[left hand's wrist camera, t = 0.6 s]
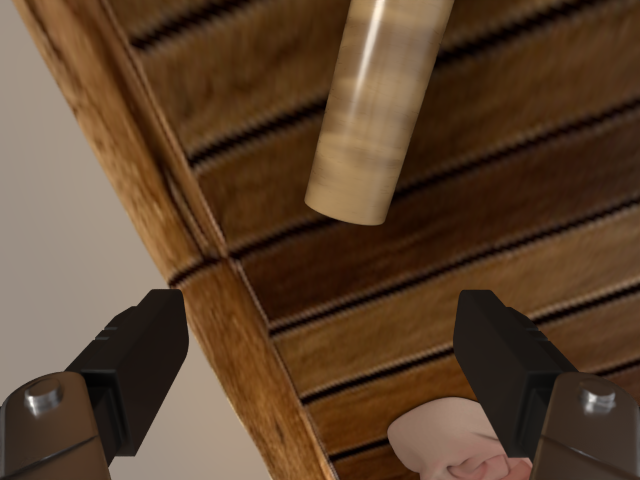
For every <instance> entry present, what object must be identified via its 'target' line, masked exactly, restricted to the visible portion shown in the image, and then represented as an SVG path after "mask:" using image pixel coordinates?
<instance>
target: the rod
mask: <svg viewBox="0 0 640 480" xmlns="http://www.w3.org/2000/svg"><path fill="white" fill-rule="evenodd" d="M454 1H455V0H351V3H350V7H349V11H348V15H347V20H346V24H345V28H344V33H343V37H342V41H341V45H340V50H339V54H338V58H337V62H336V67H335V71H334V75H333V80H332V84H331V88H330V92H329V97H328V101H327V105H326V109H325V114H324V118H323V122H322V127H321V131H320V135H319V139H318V144H317V148H316V152H315V156H314V161H313V165H312V169H311V174H310V178H309V182H308V186H307V191H306V195H305V203H306V204H307V205H308V206H309V207H311V208H312V209H314V210H316V211H317V212H319V213H322V214H324V215H326V216H329V217H332V218H335V219H338V220H342V221H346V222H350V223H355V224H362V225H379V224H382V223H384V221H385V219H386V216H387V213H388V209H389V206H390V203H391V200H392V197H393V194H394V190H395V187H396V184H397V181H398V178H399V175H400V171H401V168H402V165H403V162H404V159H405V156H406V153H407V149H408V146H409V143H410V140H411V137H412V134H413V130H414V127H415V124H416V121H417V118H418V115H419V111H420V108H421V105H422V102H423V99H424V96H425V92H426V89H427V86H428V83H429V80H430V77H431V73H432V70H433V67H434V64H435V61H436V58H437V54H438V51H439V48H440V45H441V42H442V39H443V35H444V32H445V29H446V26H447V23H448V20H449V16H450V13H451V10H452V7H453V4H454Z"/></svg>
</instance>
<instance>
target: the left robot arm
mask: <svg viewBox="0 0 640 480" xmlns="http://www.w3.org/2000/svg"><path fill="white" fill-rule="evenodd" d="M188 346H189V335H188V327H187V320H186V313H185V306H184V299H183V294H182V292H181V290H179V289H152V290H151V291H150V292H149V293H148V294H147V295H146V296H145V297H144V298H143V300H142V301H141V302H140V303H139V304H138V305H137V306H132V307H130V308H128V309H127V310H125V311H123V312H122V313H120V314H118V315H116V316H115V317H114V318H113V319H112V320H111V321H110V322H109V323H108V325H107V326H106V327H105V328H104V330H102V331H101V332H100V333H99V334H98V335H97V336H96V337H95V340H93V341H92V342H91V343H90V344H89V345H88V346H87V347H86V348H85V349H84V350H83V351H82V352H81V353H80V354H79V356H78V357H77V358H76V359H75V360H74V361H73V362H72V363H71V364H70V365H69V366H68V367H67V368H66V369H65V371H64V372H56V373H51V374H47V375H44V376H41V377H38V378H36V379H34V380H32V381H29V382H27V383H26V384H24V385H22V386H21V387H19V388H18V389H16V390H15V391H14V392H13V393H11V394H10V395H9V396H8V397H7V398H6V400H5V401H4V402H3V404H2V406H1V407H0V480H111V477H110V473H109V469H108V467H109V466H110V464H111V462H112V460H113V459H114V457H115V456H135V455H136V453H137V451H138V449H139V447H140V445H141V444H142V442H143V440H144V438H145V436H146V434H147V432H148V430H149V428H150V426H151V424H152V422H153V420H154V418H155V416H156V414H157V413H158V411H159V409H160V407H161V405H162V403H163V401H164V399H165V397H166V395H167V393H168V391H169V389H170V387H171V385H172V383H173V381H174V380H175V378H176V376H177V374H178V372H179V370H180V368H181V366H182V364H183V362H184V360H185V358H186V355H187V352H188ZM453 347H454V353H455V356H456V359H457V361H458V363H459V365H460V367H461V368H462V370H463V372H464V374H465V376H466V378H467V380H468V382H469V384H470V386H471V388H472V390H473V391H474V393H475V395H476V397H477V399H478V401H479V403H480V405H481V407H482V409H483V411H484V413H485V414H486V416H487V418H488V420H489V422H490V424H491V426H492V428H493V430H494V432H495V434H496V436H497V437H498V439H499V441H500V443H501V445H502V447H503V449H504V451H505V453H506V455H507V457H508V458H529V460H530V461H531V463H532V469H531V473H530V477H529V480H640V407H639V406H638V404H637V402H636V401H635V400H634V398H633V397H632V396H631V395H630V394H629V393H627V392H626V391H625V390H624V389H622V388H621V387H619V386H618V385H616V384H614V383H613V382H611V381H609V380H606V379H604V378H602V377H599V376H596V375H593V374H589V373H584V372H579V371H578V370H577V369H576V368H575V367H574V366H573V365H572V364H571V363H570V362H569V361H568V360H567V358H566V357H565V356H564V355H563V354H562V353H561V352H560V351H559V350H558V349H557V348H556V347H555V346H554V345H553V344H552V343H551V342H550V341H548V338H547V337H546V336H545V335H544V334H543V333H542V332H541V331H538V328H537V327H536V326H535V325H534V324H533V322H532V321H531V320H530V319H529V318H528V317H527V316H525V315H523V314H521V313H520V312H518V311H516V310H515V309H513V308H511V307H506V306H505V305H504V304H503V303H502V302H501V301H500V300H499V299H498V297H497V296H496V295H495V294H494V293H493V292H492V291H491V290H462V291H461V293H460V295H459V300H458V307H457V314H456V321H455V328H454V335H453Z"/></svg>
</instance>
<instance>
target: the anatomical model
mask: <svg viewBox="0 0 640 480" xmlns="http://www.w3.org/2000/svg"><path fill="white" fill-rule="evenodd" d="M387 434H388V438H389V441H390V444H391V446H392V447H393V449H394V451H395V453H396V455H397V456H398V458H399V459H400V460H401V461H402V463H403V464H404V465H405V466H406V467H407V468H409V469H410V470H412V471H414V472H418V473H420V480H529V477H530V473H531V469H532V463H531V461H530V460H529V458H508V457H507V455H506V453H505V451H504V449H503V447H502V445H501V443H500V441H499V439H498V437H497V436H496V434H495V432H494V430H493V428H492V426H491V424H490V422H489V420H488V418H487V416H486V414H485V413H484V411H483V409H482V407H481V405H480V403H477V402H474V401H471V400H468V399H464V398H458V397H448V398H441V399H437V400H434V401H431V402H428V403H425V404H423V405H421V406H419V407H417V408H415V409H413V410H411V411H409V412H407V413H406V414H404V415H402V416H401V417H399V418H398V419H396V420H395V421H394V422H393V423H392V424H391V425H390V426H389V428H388V431H387Z"/></svg>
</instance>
